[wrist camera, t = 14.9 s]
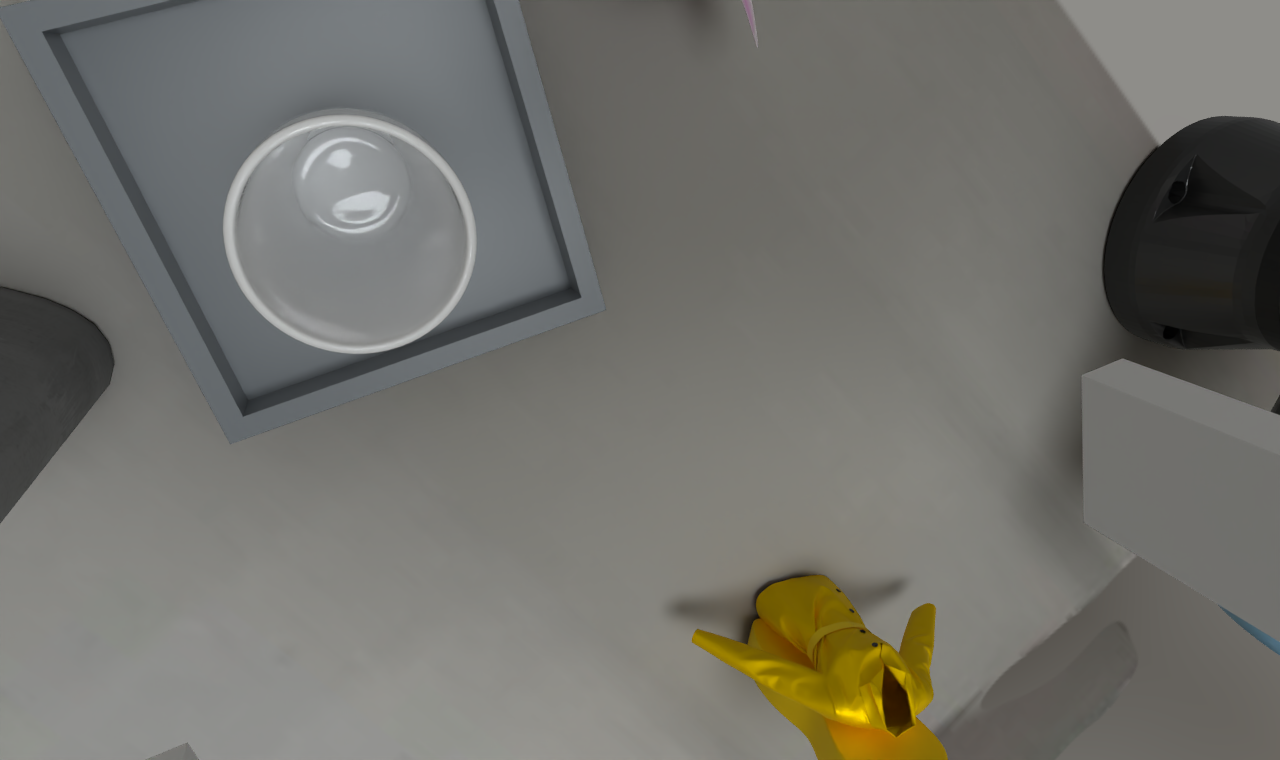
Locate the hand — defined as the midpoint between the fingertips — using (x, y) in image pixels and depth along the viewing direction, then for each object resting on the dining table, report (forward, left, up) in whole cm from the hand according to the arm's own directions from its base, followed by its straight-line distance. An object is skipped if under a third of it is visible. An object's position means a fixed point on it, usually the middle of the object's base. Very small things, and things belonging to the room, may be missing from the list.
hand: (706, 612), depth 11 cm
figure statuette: (-13, +31, -31) cm, 46 cm away
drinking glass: (+3, -4, -30) cm, 30 cm away
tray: (+3, -4, -31) cm, 31 cm away
